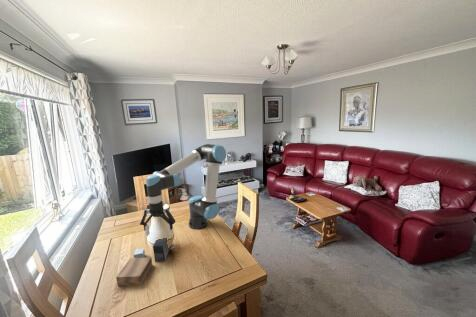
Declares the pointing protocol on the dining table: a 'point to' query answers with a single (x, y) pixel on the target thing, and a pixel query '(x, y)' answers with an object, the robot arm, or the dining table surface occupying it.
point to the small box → (160, 249)
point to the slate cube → (139, 253)
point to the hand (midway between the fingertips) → (159, 234)
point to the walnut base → (134, 271)
